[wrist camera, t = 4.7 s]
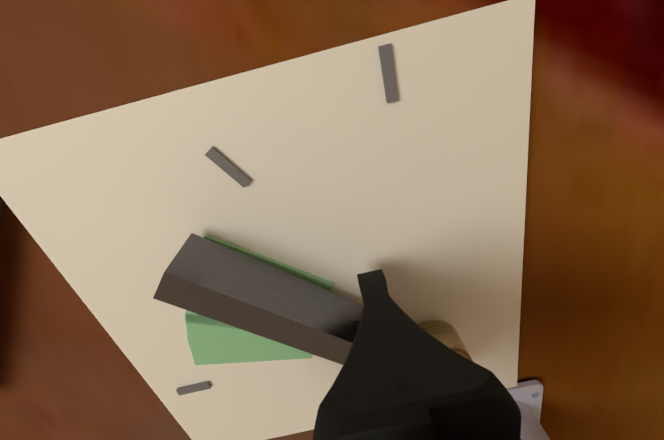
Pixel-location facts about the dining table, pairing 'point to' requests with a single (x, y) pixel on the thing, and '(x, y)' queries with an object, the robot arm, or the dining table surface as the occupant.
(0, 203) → the electronic device
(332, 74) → the dial plate
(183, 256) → the grey metal bar
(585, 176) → the dining table surface
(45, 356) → the dining table surface
